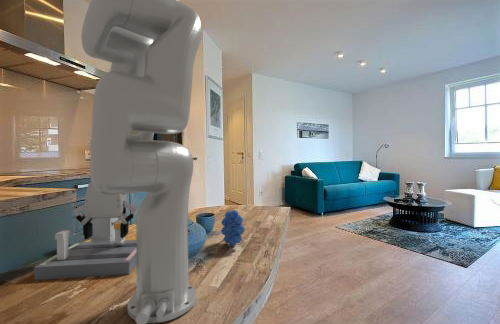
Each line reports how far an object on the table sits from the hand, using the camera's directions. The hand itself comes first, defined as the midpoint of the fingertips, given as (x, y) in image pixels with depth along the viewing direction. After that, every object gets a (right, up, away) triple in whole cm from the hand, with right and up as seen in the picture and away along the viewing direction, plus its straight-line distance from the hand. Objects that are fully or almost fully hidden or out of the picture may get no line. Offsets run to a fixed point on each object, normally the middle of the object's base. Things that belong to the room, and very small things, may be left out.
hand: (106, 237), depth 70 cm
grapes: (+37, -6, +9) cm, 38 cm away
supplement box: (-6, -6, +11) cm, 14 cm away
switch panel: (+1, -6, -4) cm, 7 cm away
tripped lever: (+3, -2, 0) cm, 4 cm away
